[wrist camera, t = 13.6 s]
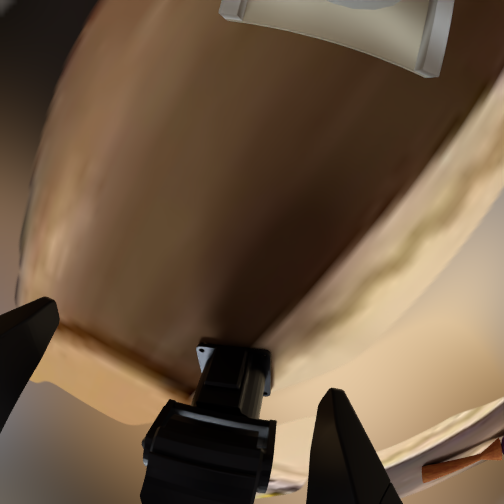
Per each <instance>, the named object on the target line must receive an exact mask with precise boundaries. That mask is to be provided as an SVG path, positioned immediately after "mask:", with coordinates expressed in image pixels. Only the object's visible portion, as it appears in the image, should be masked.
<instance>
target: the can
mask: <svg viewBox="0 0 504 504" xmlns="http://www.w3.org/2000/svg"><path fill="white" fill-rule="evenodd" d="M327 1H329V2H331V3H333V4H337V5H341V6H345V7H349V8H352V9H369V10H376V9H381V8H385V7H389V6H394V5H395V4H397V3H398V2H400V1H401V0H327Z"/></svg>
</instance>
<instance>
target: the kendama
mask: <svg viewBox="0 0 504 504" xmlns="http://www.w3.org/2000/svg"><path fill="white" fill-rule="evenodd" d="M502 453H503V454H504V437H503V439H502V443H500V439H499V438H498V439H497V440H495V441H494V442H493V443H492V444H491V445H490V446H489V447H488V448H487V449H485V450H484V451H483V452H482V453H481V454H477V455H474V456H469V457H465V458H461V459H457V460H452V461H447V462H442V463H436V464H431V465H426V466H422V479H423V483H426V482H429V481H431V480H434V479H437V478H439V477H442V476H445V475H447V474H450V473H452V472H454V471H457V470H459V469H462V468H464V467H466V466H468V465H471V464H473V463H475V462H477V461H479V460H481V459H483V460H502Z"/></svg>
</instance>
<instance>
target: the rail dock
mask: <svg viewBox="0 0 504 504" xmlns="http://www.w3.org/2000/svg"><path fill="white" fill-rule="evenodd" d="M453 6H454V0H401V1H400V2H398V3H397V4H395V5H394V6H389V7H385V8H381V9H376V10H369V9H352V8H349V7H345V6H341V5H337V4H333V3H331V2H329V1H327V0H222V2H221V5H220V9H219V14H220V15H222V16H223V17H224V18H225V19H226V20H227V21H234V22H241V23H248V24H254V25H260V26H265V27H271V28H276V29H281V30H285V31H290V32H294V33H299V34H303V35H307V36H311V37H314V38H318V39H322V40H325V41H329V42H332V43H336V44H339V45H342V46H345V47H348V48H351V49H354V50H357V51H360V52H363V53H366V54H369V55H372V56H374V57H377V58H380V59H382V60H385V61H387V62H390V63H392V64H395V65H397V66H400V67H402V68H404V69H407V70H409V71H411V72H413V73H416V74H418V75H420V76H422V77H424V78H432V77H439V74H440V70H441V66H442V62H443V57H444V53H445V48H446V44H447V39H448V34H449V29H450V23H451V18H452V12H453Z"/></svg>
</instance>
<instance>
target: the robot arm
mask: <svg viewBox="0 0 504 504" xmlns="http://www.w3.org/2000/svg"><path fill="white" fill-rule="evenodd" d="M59 320H60V318H59V313H58V309H57V305H56V302H55V300H53V299H51V298H49V297H42V298H39V299H37V300H35V301H32V302H30V303H28V304H25V305H23V306H20V307H18V308H16V309H13V310H11V311H9V312H7V313H4V314H2V315H0V433H1V431H2V429H3V427H4V425H5V423H6V421H7V419H8V417H9V415H10V413H11V411H12V409H13V407H14V406H15V404H16V402H17V400H18V398H19V397H20V394H21V393H22V391H23V389H24V388H25V386H26V384H27V382H28V381H29V379H30V377H31V376H32V374H33V372H34V370H35V369H36V367H37V366H38V364H39V362H40V360H41V359H42V357H43V355H44V353H45V351H46V348H47V346H48V344H49V342H50V340H51V338H52V336H53V334H54V332H55V330H56V328H57V326H58V324H59ZM201 348H202V349H201ZM196 350H197V354H198V359H199V363H200V367H201V372H202V375H201V378H200V380H199V383H198V386H197V389H196V392H195V395H194V397H193V400H192V403H191V405H187V404H183V403H179V402H176V401H175V400H171V399H169V401H168V402H167V404H166V405H165V406H164V407H163V409H162V410H161V412H160V413H159V415H158V417H157V418H156V420H155V421H154V423H153V425H152V426H151V428H150V429H149V431H148V433H147V434H146V437H145V438H144V439H143V441H142V446H143V448H144V453H143V461H144V465H145V466H147V470H146V475H145V479H144V483H143V487H142V490H141V493H140V499H141V502H142V504H253V503H254V499H255V495H256V492H258V493H266V490H267V487H268V483H269V479H270V474H271V469H272V463H273V455H274V445H275V434H276V423H277V421H276V420H270V421H268V420H261V419H259V414H260V409H261V403H262V398H263V396H269V395H270V393H271V352H270V351H268V350H265V349H253V348H241V347H231V346H221V345H212V344H203V343H200V344H198V346H197V349H196ZM306 504H403V503H402V501H401V499H400V498H399V496H398V494H397V492H396V490H395V488H394V486H393V484H392V483H391V482H390V478H389V476H388V475H387V473H386V471H385V469H384V467H383V465H382V463H381V461H380V459H379V457H378V455H377V453H376V451H375V449H374V447H373V445H372V443H371V442H370V440H369V438H368V436H367V434H366V432H365V430H364V428H363V426H362V424H361V422H360V420H359V418H358V417H357V415H356V413H355V411H354V409H353V407H352V405H351V403H350V401H349V399H348V398H347V396H346V394H345V392H344V391H343V390H342V389H336V388H330V389H329V390H328V391H327V393H326V394H325V396H324V397H323V398H322V400H321V401H320V403H319V405H318V410H317V416H316V422H315V427H314V433H313V439H312V444H311V450H310V462H309V476H308V489H307V500H306Z"/></svg>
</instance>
